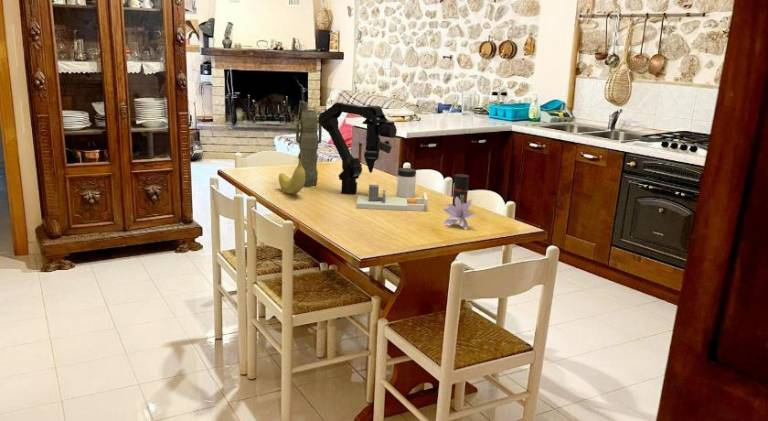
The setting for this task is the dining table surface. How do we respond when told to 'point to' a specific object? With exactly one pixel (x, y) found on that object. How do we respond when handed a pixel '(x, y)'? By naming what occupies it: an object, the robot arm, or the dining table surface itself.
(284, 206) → the dining table surface
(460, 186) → the deodorant
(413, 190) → the jar
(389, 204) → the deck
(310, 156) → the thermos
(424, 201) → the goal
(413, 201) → the ball
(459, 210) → the water lily
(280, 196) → the dining table surface
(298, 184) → the banana
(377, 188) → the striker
